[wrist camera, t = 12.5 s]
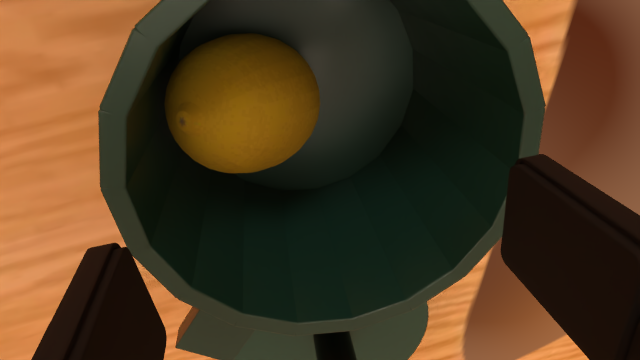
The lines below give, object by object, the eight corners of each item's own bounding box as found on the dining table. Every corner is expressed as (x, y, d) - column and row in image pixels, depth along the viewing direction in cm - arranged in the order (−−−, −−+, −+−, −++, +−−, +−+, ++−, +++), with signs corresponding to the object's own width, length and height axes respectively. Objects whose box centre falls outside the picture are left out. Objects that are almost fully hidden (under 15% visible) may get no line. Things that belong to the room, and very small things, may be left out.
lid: (194, 358, 30) (182, 446, 25) (294, 210, 26) (307, 279, 20) (352, 401, 36) (371, 480, 30) (460, 284, 31) (505, 354, 26)
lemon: (253, 21, 20) (120, 15, 13) (357, 49, 19) (266, 58, 12) (239, 128, 23) (118, 169, 16) (331, 161, 21) (242, 223, 14)
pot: (104, 172, 23) (7, 321, 13) (276, -205, 16) (314, -403, 7) (312, 256, 28) (344, 407, 18) (505, -7, 21) (700, 24, 12)
